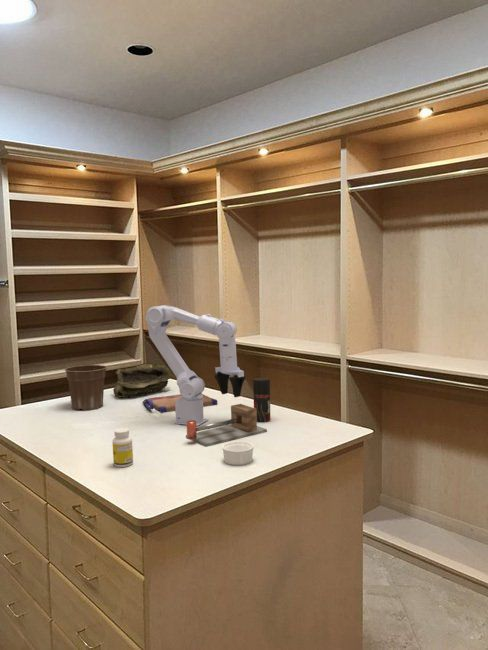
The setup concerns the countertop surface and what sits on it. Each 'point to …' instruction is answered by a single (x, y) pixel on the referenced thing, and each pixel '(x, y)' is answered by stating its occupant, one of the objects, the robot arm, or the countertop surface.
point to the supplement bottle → (122, 448)
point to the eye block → (232, 427)
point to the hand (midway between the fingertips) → (230, 395)
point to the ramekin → (238, 452)
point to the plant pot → (86, 386)
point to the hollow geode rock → (141, 379)
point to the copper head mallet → (203, 427)
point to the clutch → (172, 402)
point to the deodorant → (262, 398)
